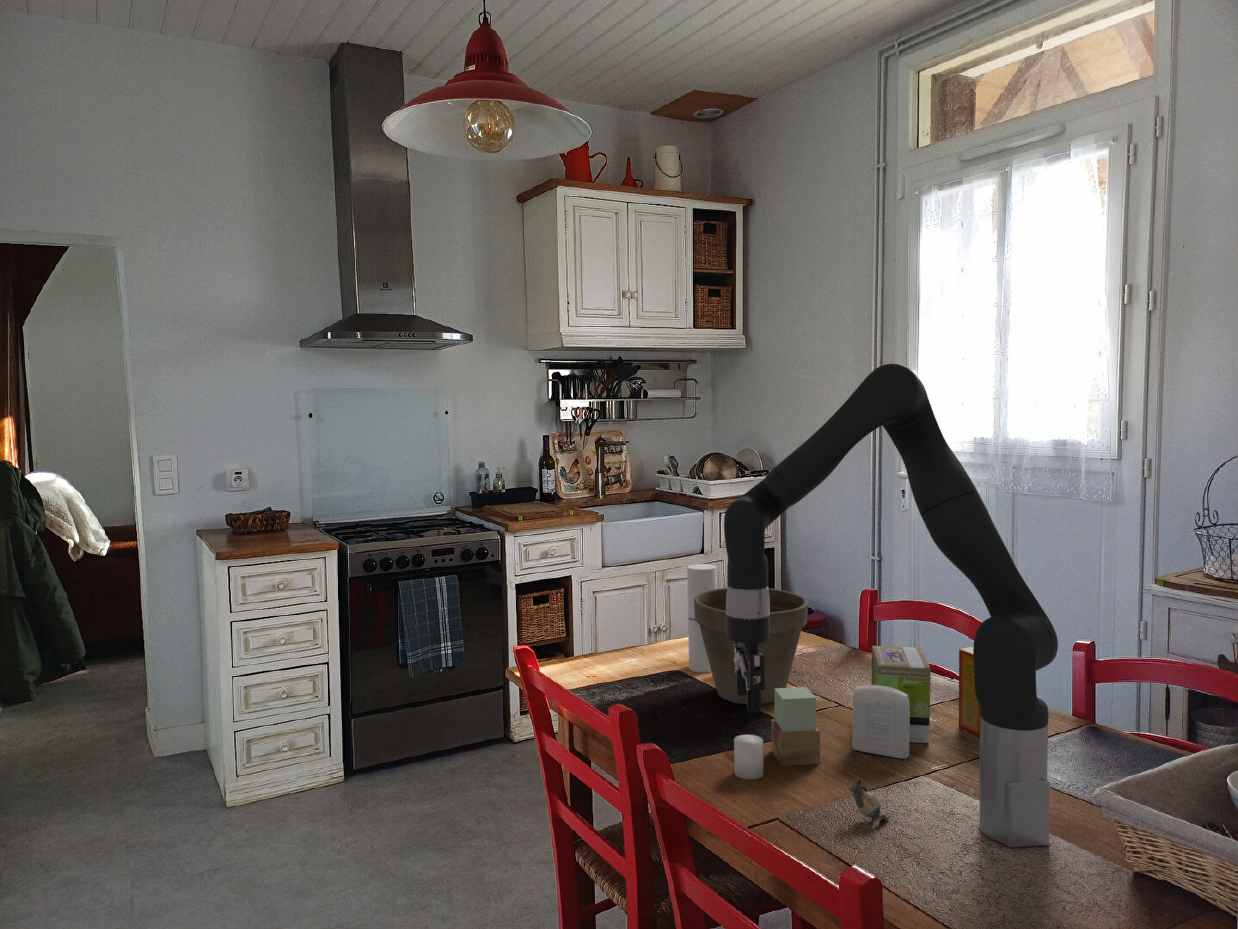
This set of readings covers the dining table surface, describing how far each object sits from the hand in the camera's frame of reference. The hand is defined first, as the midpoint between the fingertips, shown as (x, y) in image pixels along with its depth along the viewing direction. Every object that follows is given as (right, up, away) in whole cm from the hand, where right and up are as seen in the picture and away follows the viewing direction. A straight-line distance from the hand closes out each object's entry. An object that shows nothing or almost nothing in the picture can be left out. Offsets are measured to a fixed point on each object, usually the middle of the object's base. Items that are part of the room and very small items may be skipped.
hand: (748, 702), depth 157 cm
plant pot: (+7, -10, +42) cm, 44 cm away
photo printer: (+26, -12, +9) cm, 29 cm away
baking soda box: (+50, -10, +19) cm, 54 cm away
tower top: (+10, -6, +7) cm, 13 cm away
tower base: (+10, -12, +7) cm, 17 cm away
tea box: (+33, -11, +20) cm, 40 cm away
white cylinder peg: (0, -13, +1) cm, 13 cm away
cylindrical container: (-2, -8, +62) cm, 63 cm away
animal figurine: (+16, -14, -18) cm, 27 cm away
